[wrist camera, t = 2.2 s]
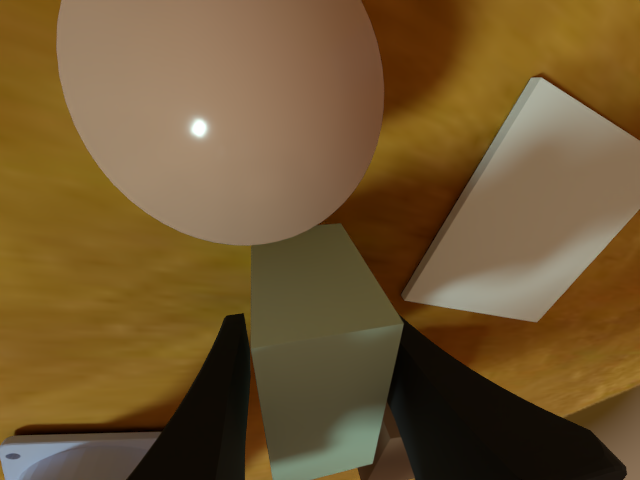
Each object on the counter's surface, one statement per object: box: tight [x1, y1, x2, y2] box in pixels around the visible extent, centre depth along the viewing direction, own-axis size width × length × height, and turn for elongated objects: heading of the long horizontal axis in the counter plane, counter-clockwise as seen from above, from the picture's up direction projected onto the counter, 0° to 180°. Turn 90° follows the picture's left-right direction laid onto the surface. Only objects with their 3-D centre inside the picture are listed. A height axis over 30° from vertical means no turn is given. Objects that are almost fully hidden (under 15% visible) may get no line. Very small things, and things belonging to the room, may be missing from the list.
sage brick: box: [251, 223, 404, 480], centre depth 10 cm, size 7×4×6 cm, turn 179°
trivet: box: [401, 77, 640, 322], centre depth 13 cm, size 10×10×1 cm
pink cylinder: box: [56, 0, 384, 245], centre depth 6 cm, size 4×4×5 cm
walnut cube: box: [358, 402, 415, 480], centre depth 15 cm, size 4×4×4 cm
